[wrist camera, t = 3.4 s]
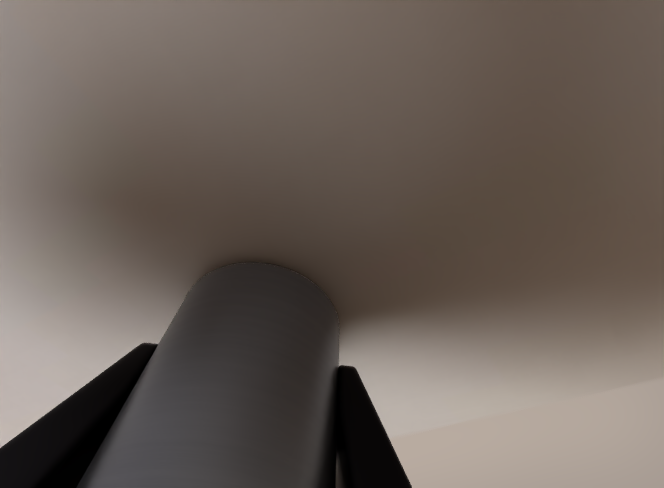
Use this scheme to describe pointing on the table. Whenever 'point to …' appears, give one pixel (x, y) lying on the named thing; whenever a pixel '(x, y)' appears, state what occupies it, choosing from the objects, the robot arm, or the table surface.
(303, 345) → the cylinder
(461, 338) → the table surface
